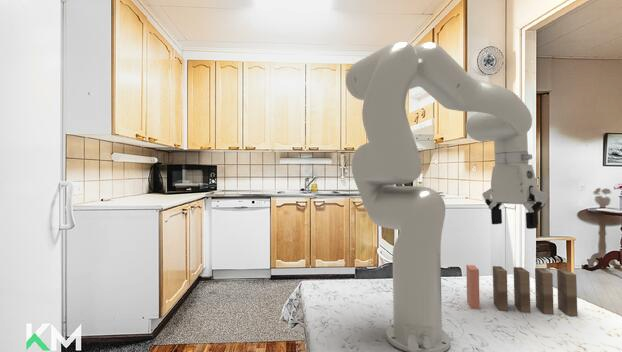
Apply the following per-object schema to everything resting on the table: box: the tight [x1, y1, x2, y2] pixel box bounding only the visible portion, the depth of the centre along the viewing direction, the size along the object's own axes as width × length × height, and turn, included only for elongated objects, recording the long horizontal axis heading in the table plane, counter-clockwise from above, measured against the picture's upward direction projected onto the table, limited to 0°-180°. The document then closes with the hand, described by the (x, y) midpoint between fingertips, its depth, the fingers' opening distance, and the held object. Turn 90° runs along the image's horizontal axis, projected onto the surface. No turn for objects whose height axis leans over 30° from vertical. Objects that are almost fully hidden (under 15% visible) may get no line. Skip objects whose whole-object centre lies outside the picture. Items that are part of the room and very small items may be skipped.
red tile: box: [465, 264, 481, 310], centre depth 88 cm, size 5×2×10 cm, turn 166°
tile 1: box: [556, 268, 578, 317], centre depth 83 cm, size 5×2×10 cm, turn 166°
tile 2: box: [534, 267, 554, 316], centre depth 84 cm, size 5×2×10 cm, turn 166°
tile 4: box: [492, 265, 509, 312], centre depth 87 cm, size 5×2×10 cm, turn 166°
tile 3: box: [513, 266, 531, 314], centre depth 85 cm, size 5×2×10 cm, turn 166°
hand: (513, 226), depth 86 cm, fingers open, 9 cm apart
